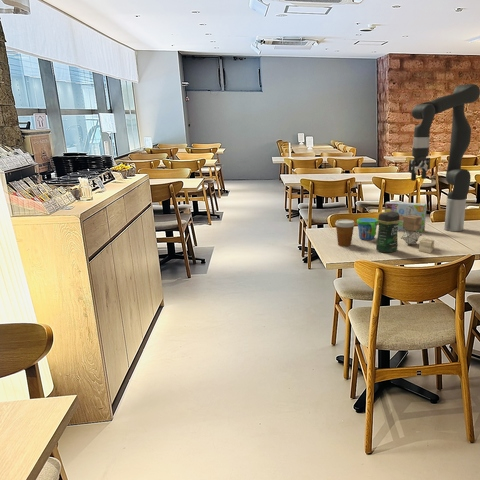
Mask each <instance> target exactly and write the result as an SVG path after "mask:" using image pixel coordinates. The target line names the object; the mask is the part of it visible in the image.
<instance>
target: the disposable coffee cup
mask: <svg viewBox="0 0 480 480" xmlns="http://www.w3.org/2000/svg"><path fill="white" fill-rule="evenodd" d="M334 225H335V229H336V239H337V240H336V241H337V245H338V246H340V247H350V246H351V245H352V240H353V235H354V233H353V232H354V228H355V225H356V224H355V221H354V220H352V219H343V218H342V219H337V220H336V221H335V223H334Z"/></svg>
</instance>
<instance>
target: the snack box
mask: <svg viewBox="0 0 480 480" xmlns="http://www.w3.org/2000/svg"><path fill="white" fill-rule="evenodd" d="M427 205H428V204H427V203H416V202H402V201H401V202H399V201H398V202H397V201H386V202H385V203H384V209H383V210H384V211H383V213H385V212H390V211H393V212H398V213H399V224H398V231H402V232H403V231H404V232H405V231H406V230H407V229H406V230H405V229H403V219H404V216H409V215H415V216H421V217H422V225H421V229H419V230H416V232H417V233H424V231H425V228H426V217H427V216H426V215H427Z"/></svg>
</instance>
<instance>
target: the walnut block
mask: <svg viewBox="0 0 480 480" xmlns="http://www.w3.org/2000/svg"><path fill="white" fill-rule="evenodd" d="M421 225H422V217H421V216H415V215H409V216H404V219H403V229H407V230H412V231H415V230H419V229H421Z"/></svg>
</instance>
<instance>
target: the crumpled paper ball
mask: <svg viewBox="0 0 480 480" xmlns="http://www.w3.org/2000/svg"><path fill="white" fill-rule="evenodd" d="M405 230H406V229H405ZM421 236H422V234H419V232H416V230H415V231H412V230H406V231H404V233H403V235H402V237H400V239H401V240H403V241H404V242H405V243H407V246H408V247H409V246H410V245H412V244H414V245H418V244H417V242H418V240H419V238H420V237H421Z"/></svg>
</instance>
